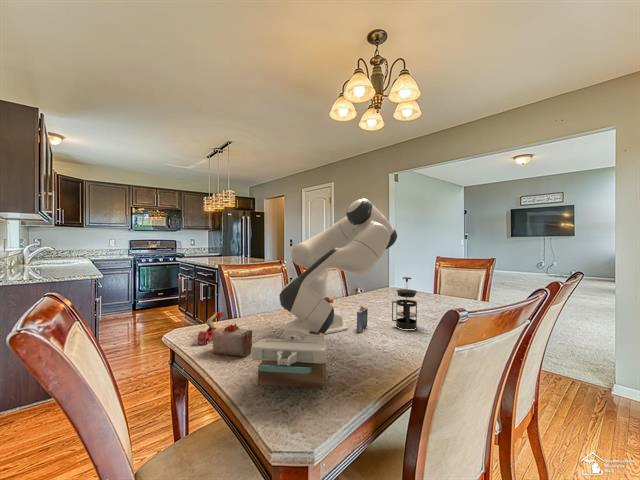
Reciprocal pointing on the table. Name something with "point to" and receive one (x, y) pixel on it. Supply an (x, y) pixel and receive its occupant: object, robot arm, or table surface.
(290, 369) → the teal rectangular block
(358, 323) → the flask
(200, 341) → the toy fire truck
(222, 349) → the grey paint-stained brick
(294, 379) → the brown wooden block
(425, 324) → the table surface
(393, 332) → the table surface
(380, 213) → the robot arm
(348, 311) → the table surface
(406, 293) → the french press
